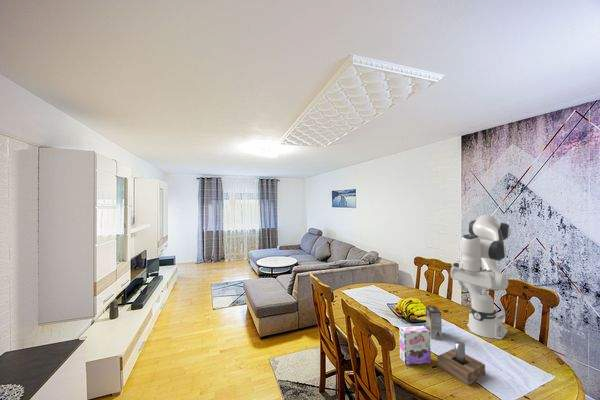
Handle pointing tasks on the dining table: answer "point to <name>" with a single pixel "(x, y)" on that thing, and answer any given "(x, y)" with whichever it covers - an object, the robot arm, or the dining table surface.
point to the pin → (460, 352)
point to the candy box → (414, 345)
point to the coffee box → (434, 322)
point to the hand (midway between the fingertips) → (472, 292)
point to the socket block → (461, 367)
